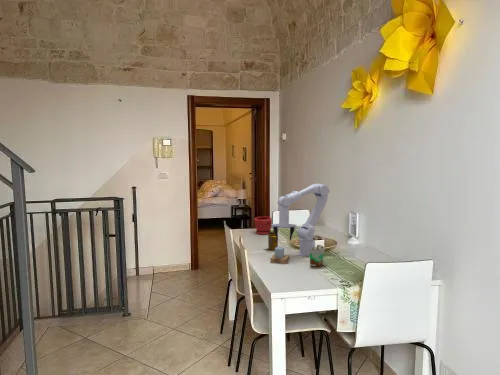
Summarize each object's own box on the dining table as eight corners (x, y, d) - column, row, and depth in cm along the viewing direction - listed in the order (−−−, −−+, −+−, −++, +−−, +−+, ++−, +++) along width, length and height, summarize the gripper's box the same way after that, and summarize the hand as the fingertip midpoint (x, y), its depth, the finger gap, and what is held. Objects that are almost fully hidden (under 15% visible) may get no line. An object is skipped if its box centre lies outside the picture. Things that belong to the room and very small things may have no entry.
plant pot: (260, 230, 288) (260, 215, 287) (275, 232, 280) (275, 217, 279) (251, 234, 277) (251, 218, 276) (265, 236, 270) (265, 220, 268)
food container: (319, 269, 192) (319, 251, 191) (308, 267, 195) (309, 249, 194) (328, 263, 203) (328, 245, 202) (317, 261, 206) (317, 244, 205)
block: (284, 255, 209) (284, 247, 209) (282, 258, 205) (282, 249, 205) (276, 255, 211) (276, 246, 210) (274, 257, 206) (274, 248, 206)
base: (289, 259, 211) (289, 255, 211) (286, 264, 203) (286, 259, 202) (274, 258, 214) (274, 254, 213) (270, 262, 205) (270, 258, 205)
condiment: (280, 250, 231) (280, 231, 230) (269, 252, 227) (269, 233, 225) (273, 247, 237) (273, 229, 236) (263, 249, 233) (262, 231, 231)
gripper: (296, 216, 216) (296, 238, 217) (272, 215, 218) (271, 238, 219) (296, 218, 209) (296, 241, 210) (271, 217, 211) (271, 240, 212)
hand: (283, 240), depth 214 cm, fingers open, 7 cm apart
